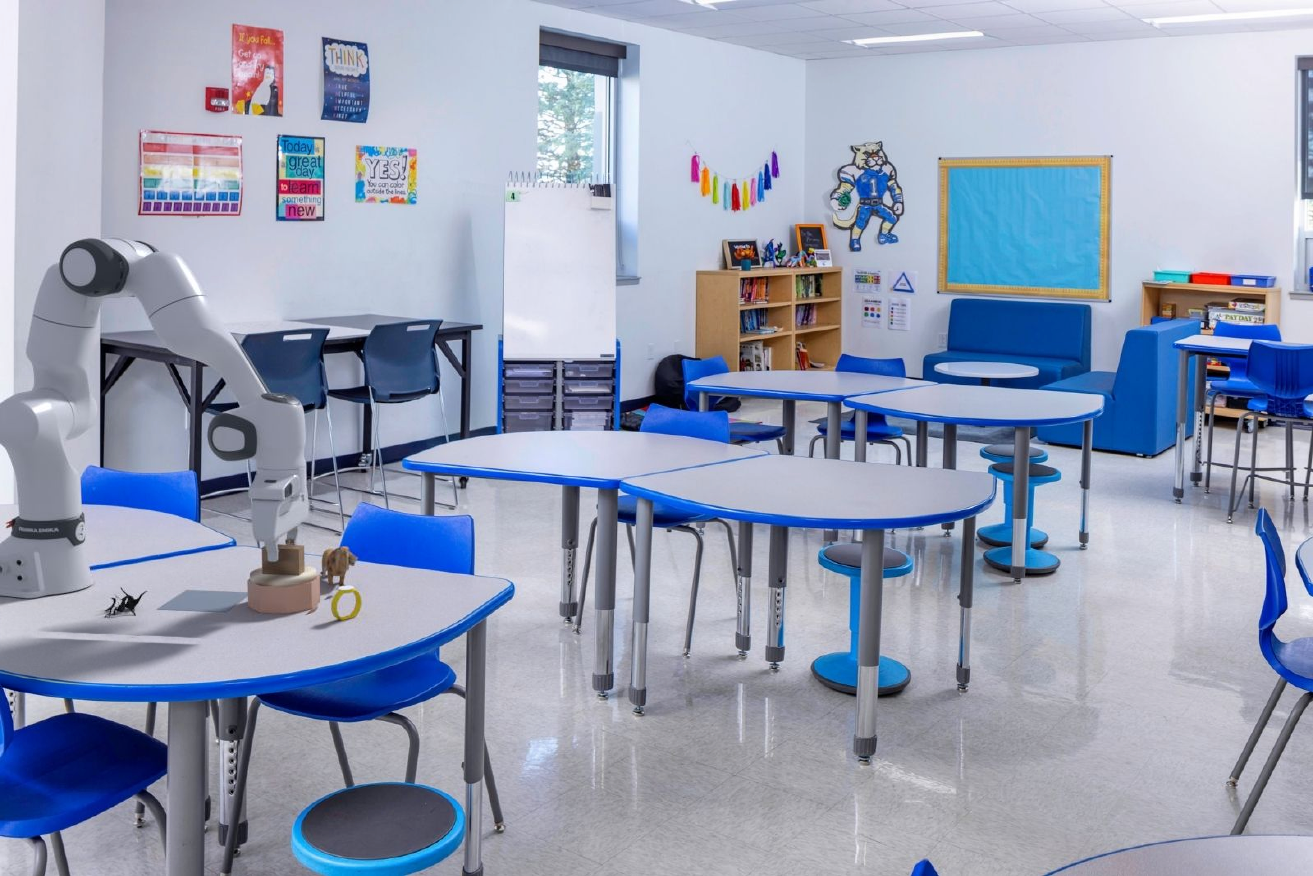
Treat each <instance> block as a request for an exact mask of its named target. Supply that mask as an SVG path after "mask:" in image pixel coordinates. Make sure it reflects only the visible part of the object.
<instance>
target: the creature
mask: <svg viewBox="0 0 1313 876" xmlns="http://www.w3.org/2000/svg"><path fill="white" fill-rule="evenodd" d="M120 590H121V591H122V592H123V594H124V595H125V596H124V597H122V598H120V597H119V596H117V595H116V594H114V596H115V597H110V599H111V600H112V602H113V603H112V604H111V606H110V607H108V608H106V609H105V610H104V612H108V611H109V612H108V613H105V617H104V618H108V619H110V617H111V616H115V615H116V612H117V613H118V612H120V613H124V612H125V609H126V608H127V609H128V610H129V611H130V612H131V613H132V614H133V616H134V617H136V616H137V614H136V612H135V611H136V610H135V608H136V607H137V606H138V604H139V603H140V601H141V599H142V597H143V595H144V594H146V593H147V592H148V591H147V590H145V591H144V592H142V593H140V595H139V596H138V598H134V597H133V595H130V594H128V593H127V592H126V591H125V590H124V589H123V588H122V587H121V586H120ZM118 600H120V601H121V602H119V601H118ZM117 601H118V602H117ZM116 603H118V606H116ZM112 610H113V611H112ZM108 615H109V616H108ZM107 616H108V617H107Z"/></svg>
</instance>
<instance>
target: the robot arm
mask: <svg viewBox="0 0 1313 876" xmlns="http://www.w3.org/2000/svg"><path fill="white" fill-rule="evenodd" d="M193 272H194V271H192V269H191V268H190V267H189V265H188V264H187V262H186V261H185V260H184V259H183V257H181V256H180V255H179V254H177V253H176V252H173V251H169V250H159V249H157V247H155V246H153V245H151V244H149V243H146V242H144V241H141V240H131V239H125V238H120V237H109V238H94V237H93V238H91V237H90V238H89V237H87V238H83V239H78V240H76V241H73V242H72V243H69V244H68V245H67V246H66V247H65V249H63V251H62V253H61V255H60V256H59V262H56V263H54V264H52V265H51V266H49V267H48V268H47V269H46V271H45V272H44V273H45V274H44V276H43V278H42V281H41V284H40V286H39V289H38V291H37V295H36V299H35V302H34V306H33V311H32V317H31V322H30V327H29V333H28V338H27V343H26V348H25V355H26V357H27V359H28V360H29V362H30V363H31V366H32V371H33V387H32V389H31V390H28V391H23V392H17V393H15V394H13V395H11V396H9V397H7V398H6V399H4V400H3V401H2V402H0V445H1V446H2V447H3V448H4V449H5V451H6V453H7V455H8V457H9V459H10V462H11V464H12V468H13V470H14V472H13V473H14V475H15V480H16V487H17V488H16V489H17V502H18V503H17V504H18V516H16V517H14V518H12V519H11V520H10V521H7V522H5V525H6V524H7V525H6V526H5V529H9V528H11V533H10V535H9V536H7V537H6V538H5V539H4V540H2V541H1V542H0V596H4V597H13V598H20V599H21V598H22V599H34V598H40V597H41V598H42V597H45V596H50V595H59V594H65V593H71V592H74V591H75V592H76V591H79V590H82V589H85V588H88V587H90V586H92V585H93V584H94V583H95V580H94V577H93V574H92V572H91V571H92V570H91V569H90V565H89V560H88V557H87V551H86V544H85V541H86V520H85V513H84V512H83V510H82V509H83V508H82V507H83V505H82V485H81V484H82V483H81V475H80V473H79V471H78V470H77V468H75V467H73V465H72V462H71V461H70V459H69V456H68V453H67V449H66V442H67V441H70V440H73V439H76V438H78V437H80V436H82V435H83V434H84V433H85V432H87V431H88V430H89V429H90V428H91V427H92V426H94V424H95V422H96V421H97V418H98V414H99V413H98V412H99V409H98V403H97V402H96V399H95V398H94V396H93V395H92V392H91V381H90V362H91V361H90V360H91V355H92V349H93V344H94V338H95V333H96V328H97V321H98V315H99V311H100V308H101V305H102V303H103V302H104V301H105V300H106V299H120V298H129V297H130V298H136V299H137V300H138V301H139V302H140V304H141V306H142V308H143V310H144V312H145V314H146V316H147V318H148V320H149V322H150V324H151V327H152V329H153V331H154V333H155V334H156V336H157V338H158V339H159V341H160V342H161V343H162V345H164V347H165V348H166V349H167V350H169V351H170V352H172V353H173V354H175V355H177V356H181V357H184V358H187V359H192V360H195V361H196V362H197V361H198V362H200V363H202V364H204V365H207V366H208V367H210V368H212V369H213V370H214V371H216V372H217V374H219V375H220V376H221V377H222V379H223V380H224V382H225V384H226V386H227V387H228V388H229V390H230V392H231V394H232V395H233V397H234V399H235V400H236V402H237V403H238V405H239V406H238V407H237V408H236V407H235V408H232V409H228V410H226V411H223V412H221V413H217V414H216V415H214V417H213V418H212V419H211V421H210V422H209V424H208V426H207V427H208V428H207V432H206V435H207V436H206V437H207V442H208V445H209V448H210V449H211V451H212V453H213V454H214V455H215V456H216V457H218V458H219V459H221V460H222V461H225V462H234V463H236V462H242V461H246V460H253V461H254V462H255V464H256V468H255V469H256V474H255V476H254V480H253V481H252V483H251V485H249V487H248V498H249V499H250V500H252V501H251V507H250V510H251V511H250V512H251V526H252V535H253V538H254V540H255V541H256V542H260V543H261V542H263V543H264V546H265V547H266V550H267V552H268V561H271V562H276V561H277V560H279V559H280V550H278V545H277V544H279V538H281V537H283V536H284V535H285V534H286V538H285V540H284V541H285V542H284V543H285V544H284V545H298V537H299V533H300V524H302V523H303V522H305V521H306V520H307V519H308V517H309V513H310V512H309V511H310V510H309V496H308V488H307V461H306V458H305V448H306V444H307V430H306V429H307V428H306V427H307V426H306V418H305V417H306V415H305V411H304V407H303V405H302V403H301V401H300V400H299V399H298V398H296V397H295V396H293V395H290V394H286V393H282V392H281V393H278V392H271V391H270V389H269V388H268V386H267V384H266V383H265V382H264V379H263V377H262V376H261V374H260V373H259V372H258V369H257V368H256V366H255V365H254V364H253V362H252V360H251V359H250V357H249V355H248V354H247V352H246V351H245V349H244V347H243V346H242V345H241V343H240V342H239V340H238V339H237V338H236V337H235V336H234V334H233V333H232V332H231V331H230V330H229V329H228V328H227V327H226V326H225V325H224V323H223V322H222V321H221V319H220V317H219V316H218V314H217V313H216V311H215V310H214V308H213V306H212V304H211V303H210V301H209V299H208V296H207V295H206V293H205V291H204V289H203V287H202V286H201V283H200V282H199V279H198V278H197V277H196V275H195V274H194V273H193Z"/></svg>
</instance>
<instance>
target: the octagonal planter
mask: <svg viewBox="0 0 1313 876" xmlns="http://www.w3.org/2000/svg"><path fill="white" fill-rule="evenodd" d="M246 582H247V584H246V585H247V592H248V597H247V607H248V608H249V609H250V608H251V609H253V611H256V612H259V613H263V614H264V613H265V614H275V615H276V614H279V615H280V614H284V615H285V614H292V613H299V612H304V611H308V610H309V611H308V612H307V613H306V614H305V616H307V615H309V614H313V613H314V612H316V611H317V610H318V604H319V603H320V602H321V576H320V574H317V578H316V579H315V580H313V581H311V582H308V583H305V584H300V585H294V586H283V587H271V586H262V585H257V584H254V583H252V582H251V581H250V578H249V579H247V581H246Z"/></svg>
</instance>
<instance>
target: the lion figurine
mask: <svg viewBox="0 0 1313 876" xmlns="http://www.w3.org/2000/svg"><path fill="white" fill-rule="evenodd" d="M358 559H359V557H357V556H356V555H355V554H353V552H351V551H350V548H349V547H348V546H340V547H339V546H338V547H337V548H328V549H325V550H324V551H323V554H322V557H321V571H320V572H319V575H321V578H324V577H325V578H326V574H327V582H328V585H329V586H333V585H334V577H339V581H338V587H341V586H347V585H346V584H345V583H344V582H345V578H346V573H347V572H348V571H349V570H350V566H351V567H355V565H356V562H357V561H358Z"/></svg>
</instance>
